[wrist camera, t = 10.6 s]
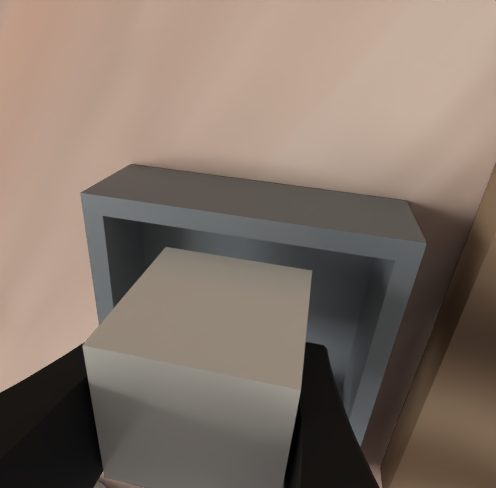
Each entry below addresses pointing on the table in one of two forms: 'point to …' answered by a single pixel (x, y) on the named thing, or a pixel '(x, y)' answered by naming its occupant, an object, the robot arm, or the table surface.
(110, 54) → the table surface
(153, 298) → the off-white stacked cube
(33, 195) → the table surface
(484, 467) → the brown flat slab
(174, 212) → the bin
